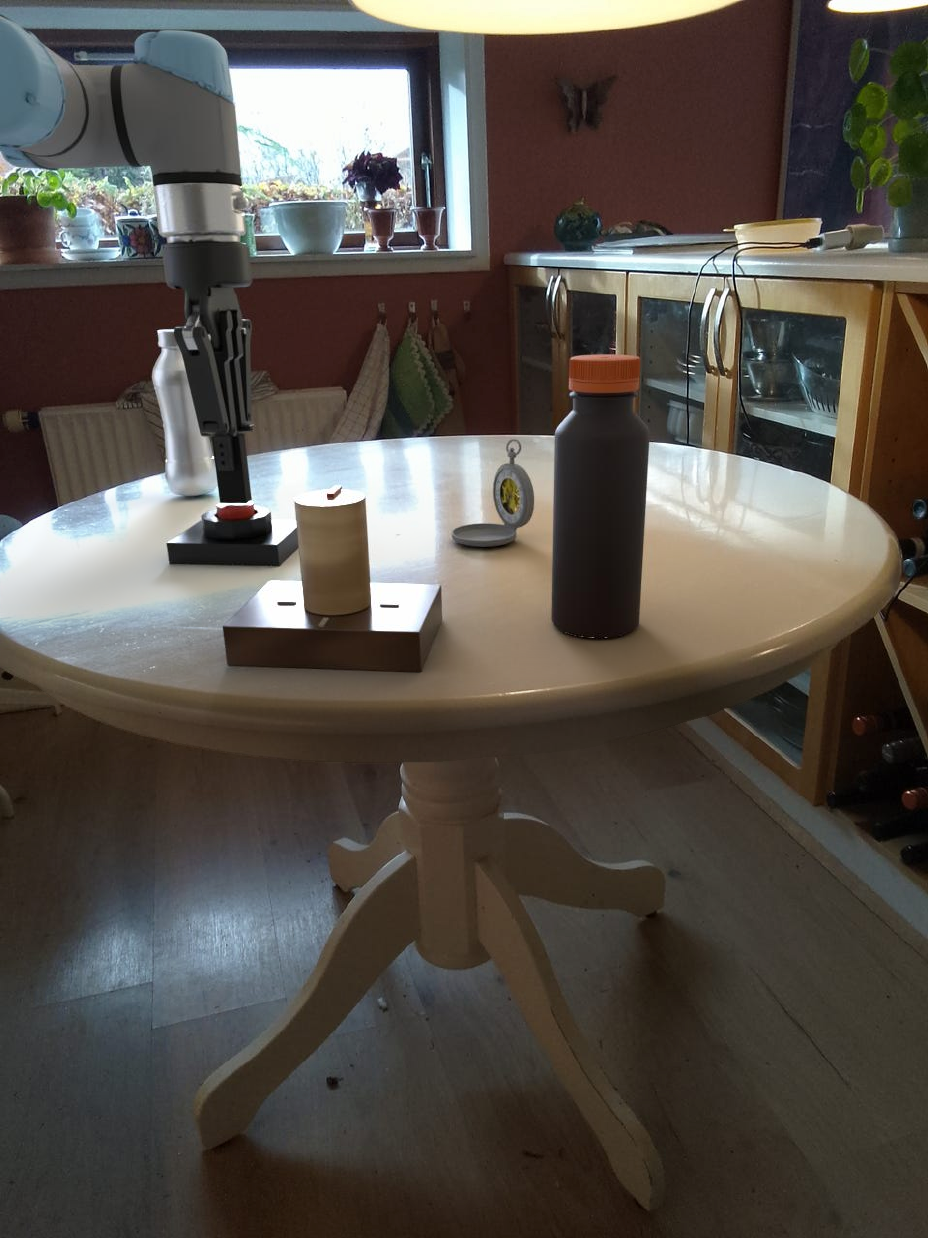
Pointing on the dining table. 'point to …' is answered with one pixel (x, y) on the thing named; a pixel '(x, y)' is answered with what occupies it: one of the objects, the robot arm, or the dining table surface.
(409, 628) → the knob panel
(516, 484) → the pocket watch
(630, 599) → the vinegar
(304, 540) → the wood knob
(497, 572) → the dining table surface
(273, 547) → the button box
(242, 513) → the red button
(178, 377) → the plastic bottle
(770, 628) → the dining table surface
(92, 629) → the dining table surface
